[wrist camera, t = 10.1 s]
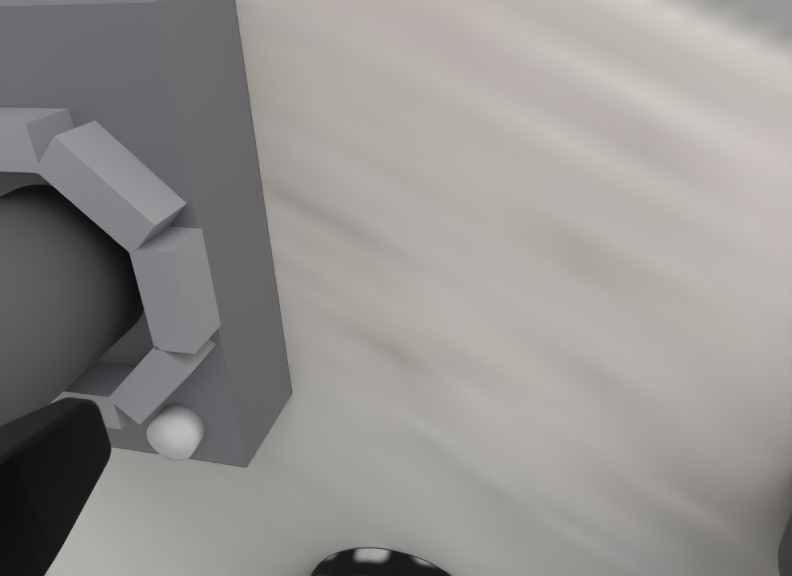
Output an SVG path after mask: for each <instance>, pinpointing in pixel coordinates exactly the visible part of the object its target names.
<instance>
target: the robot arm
mask: <svg viewBox="0 0 792 576" xmlns="http://www.w3.org/2000/svg"><path fill="white" fill-rule="evenodd" d="M110 455H111V441H110V438H109V435H108V432H107V429H106V426H105V423H104V420H103V417H102V413H101V410H100V408H99V406H98V405H97V404H96V402H95V401H92V400H89V399H82V398H74V397H67V398H63V399H60V400H58V401H56V402H54V403H51V404H49V405H47V406H44V407H42V408H40V409H38V410H35V411H33V412H31V413H29V414H26V415H24V416H22V417H20V418H17V419H15V420H13V421H10V422H8V423H6V424H4V425H1V426H0V576H44V575H45V574H46V572H47V571H48V569H49V567H50V566H51V564H52V563H53V561H54V560H55V558H56V556H57V555H58V553H59V551H60V549H61V548H62V546H63V544H64V542H65V541H66V539H67V537H68V535H69V533H70V531H71V529H72V528H73V526H74V524H75V522H76V520H77V518H78V517H79V515H80V513H81V511H82V509H83V507H84V505H85V504H86V502H87V500H88V498H89V496H90V494H91V492H92V491H93V489H94V487H95V485H96V483H97V481H98V480H99V478H100V476H101V474H102V472H103V470H104V468H105V467H106V465H107V463H108V461H109V458H110ZM778 566H779V573H780V576H792V511H791V513H790V516H789V519H788V522H787V525H786V527H785V530H784V533H783V536H782V539H781V541H780V545H779V550H778Z"/></svg>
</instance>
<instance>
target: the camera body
mask: <svg viewBox="0 0 792 576" xmlns="http://www.w3.org/2000/svg"><path fill="white" fill-rule="evenodd" d="M28 185H50V186H53V187H55V188H56V189H57V190H58V191H59V192H60V193H61V194H63V195H64V196H65V197H66V198H67V199H68V200H70V201H71V202H72V203H73V204H74V205H75V206H76V207H78V208H79V209H80V210H81V211H82V212H83V213H84V214H86V215H87V216H88V217H89V218H90V219H91V220H92V221H94V222H95V223H96V224H97V225H98V226H99V227H101V228H102V229H103V230H104V231H105V232H106V233H107V234H109V235H110V236H111V237H112V238H113V239H114V240H115V241H117V242H118V243H119V244H120V245H121V246H122V247H124V248H125V249H126V250H127V251H128V252H129V253H130V257H131V261H132V264H133V268H134V272H135V276H136V280H137V284H138V287H139V291H140V295H141V299H142V303H143V306H144V311H143V313H142V316H141V317H140V319H139V320H138V322H137V323H136V324H135V325H134V326H133V327H132V328H131V329H130V330H129V331H128V332H127V333H126V334H124V335H123V336H122V337H121V338H120V339H119V340H118V341H117V342H116V343H115V344H114V345H113V346H112V347H110V348H109V349H108V350H107V351H106V352H105V353H104V354H103V355H102V356H101V357H100V358H99V359H97V360H96V361H95V362H94V363H93V364H92V365H91V366H90V367H89V368H88V369H87V370H86V371H85V372H83V373H82V374H81V375H80V376H79V377H78V378H77V379H76V380H75V381H74V382H73V383H72V384H71V385H69V386H68V387H67V388H66V389H65V390H64V391H63V392H62V393H61V394H60V395H59V396H58V397H57V398H55V399H54V400H53V401H52V402H51V403H54V402H56V401H58V400H60V399H63V398H67V397H74V398H82V399H89V400H92V401H95V402H96V404H97V405H98V406H99V408H100V410H101V413H102V417H103V420H104V423H105V426H106V429H107V432H108V435H109V438H110V441H111V447H114V448H121V449H128V450H134V451H141V452H147V453H154V454H160V455H162V456H164V457H166V458H168V459H172V460H178V461H180V460H185V459H193V460H200V461H206V462H213V463H220V464H226V465H233V466H239V467H246V468H247V466H248V465H249V463H250V461H251V460H252V458H253V456H254V455H255V453H256V451H257V450H258V448H259V447H260V445H261V443H262V442H263V440H264V438H265V437H266V435H267V433H268V432H269V430H270V429H271V427H272V425H273V424H274V422H275V420H276V419H277V417H278V415H279V414H280V412H281V411H282V409H283V407H284V406H285V404H286V402H287V401H288V399H289V398H290V396H291V394H292V390H291V383H290V376H289V369H288V363H287V356H286V349H285V342H284V335H283V328H282V322H281V315H280V308H279V301H278V294H277V287H276V280H275V274H274V267H273V260H272V253H271V246H270V239H269V233H268V226H267V219H266V212H265V205H264V198H263V191H262V185H261V178H260V171H259V164H258V157H257V150H256V144H255V137H254V130H253V123H252V116H251V109H250V102H249V96H248V89H247V82H246V75H245V68H244V61H243V55H242V48H241V41H240V34H239V27H238V20H237V13H236V7H235V0H0V196H2V195H5V194H7V193H9V192H11V191H13V190H15V189H17V188H20V187H23V186H28ZM51 403H50V404H51Z"/></svg>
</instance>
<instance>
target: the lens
mask: <svg viewBox="0 0 792 576" xmlns="http://www.w3.org/2000/svg"><path fill="white" fill-rule="evenodd" d="M143 311H144V306H143V303H142V299H141V295H140V291H139V287H138V284H137V280H136V276H135V272H134V268H133V264H132V261H131V257H130V253H129V252H128V251H127V250H126V249H125V248H124V247H122V246H121V245H120V244H119V243H118V242H117V241H115V240H114V239H113V238H112V237H111V236H110V235H109V234H107V233H106V232H105V231H104V230H103V229H102V228H101V227H99V226H98V225H97V224H96V223H95V222H94V221H92V220H91V219H90V218H89V217H88V216H87V215H86V214H84V213H83V212H82V211H81V210H80V209H79V208H78V207H76V206H75V205H74V204H73V203H72V202H71V201H70V200H68V199H67V198H66V197H65V196H64V195H63V194H61V193H60V192H59V191H58V190H57V189H56V188H55V187H53V186H50V185H28V186H23V187H20V188H17V189H15V190H13V191H11V192H9V193H7V194H5V195H2V196H0V426H1V425H4V424H6V423H8V422H10V421H13V420H15V419H17V418H20V417H22V416H24V415H26V414H29V413H31V412H33V411H35V410H38V409H40V408H42V407H44V406H47V405H49V404H50V403H51V402H52V401H53V400H54V399H55V398H57V397H58V396H59V395H60V394H61V393H62V392H63V391H64V390H65V389H66V388H67V387H68V386H69V385H71V384H72V383H73V382H74V381H75V380H76V379H77V378H78V377H79V376H80V375H81V374H82V373H83V372H85V371H86V370H87V369H88V368H89V367H90V366H91V365H92V364H93V363H94V362H95V361H96V360H97V359H99V358H100V357H101V356H102V355H103V354H104V353H105V352H106V351H107V350H108V349H109V348H110V347H112V346H113V345H114V344H115V343H116V342H117V341H118V340H119V339H120V338H121V337H122V336H123V335H124V334H126V333H127V332H128V331H129V330H130V329H131V328H132V327H133V326H134V325H135V324H136V323H137V322H138V320H139V319H140V317H141V316H142V313H143Z"/></svg>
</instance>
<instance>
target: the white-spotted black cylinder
mask: <svg viewBox="0 0 792 576" xmlns="http://www.w3.org/2000/svg"><path fill="white" fill-rule="evenodd" d="M311 576H450V575H448V574H447V573H446V572H444V571H442V570H441V569H439V568H437V567H435V566H433V565H432V564H430V563H428V562H426V561H423V560H421V559H418V558H415V557H413V556H410V555H407V554H403V553H399V552H395V551H391V550H382V549H374V548H371V549H353V550H348V551H343V552H340V553H337V554H335V555H332V556H330V557H328V558H327V559H325V560H324V561H323V562H321V563H320V564H319V565H318V566H317V567H316V569H315V570H314V571H313V573H312V574H311Z"/></svg>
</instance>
